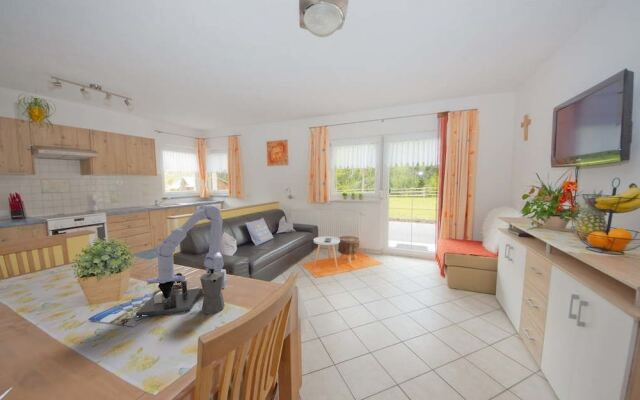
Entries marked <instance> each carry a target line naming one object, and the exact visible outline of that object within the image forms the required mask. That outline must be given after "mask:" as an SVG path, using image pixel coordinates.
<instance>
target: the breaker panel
mask: <svg viewBox="0 0 640 400" xmlns="http://www.w3.org/2000/svg"><path fill="white" fill-rule="evenodd" d="M158 292H159V291H158ZM158 292H156V293H154V295H152V297H150V298H149V299H148V300H147V301H146V302H145V303H144V304H143V305H142V307H140V308H139V310H138V311H137V312H136V313H135V317H136V316H142V315H148V316H147V317H152V316H153V317H154V316H155V317H156V316H162V315H170V314H179V313H188V312H189V313H190V312H191V310H192V308H193V307H194V305H195V304H196V302H197V300H198V299H199V297H200V295H201V294H202V293H203V289H202V287H198V288H187V292H182V289H178V290H171V293H170V295H172V294H176V306H175V307H171V298H170V297H169V298H168V299H165V300H164V301H163V302H162V303H154V296H155V295H156V294H157V293H158Z"/></svg>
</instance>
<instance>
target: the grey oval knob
mask: <svg viewBox="0 0 640 400" xmlns="http://www.w3.org/2000/svg"><path fill="white" fill-rule="evenodd" d="M187 283H188V281H187V280H184V281H182V289H181V290H182V292H187V289H188V286H187Z"/></svg>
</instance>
